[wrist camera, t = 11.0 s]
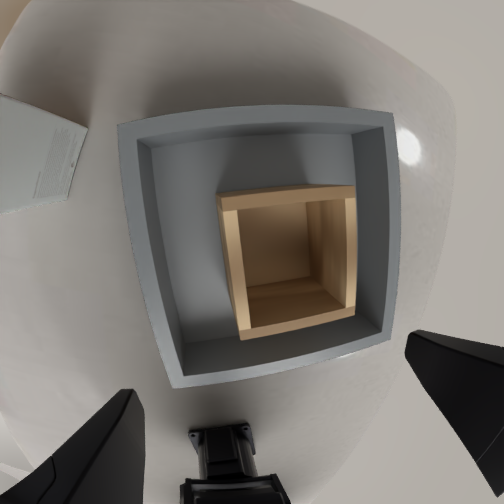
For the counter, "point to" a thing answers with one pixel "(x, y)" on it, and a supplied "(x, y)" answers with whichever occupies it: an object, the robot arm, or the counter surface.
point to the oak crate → (289, 256)
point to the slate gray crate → (208, 233)
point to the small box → (35, 155)
